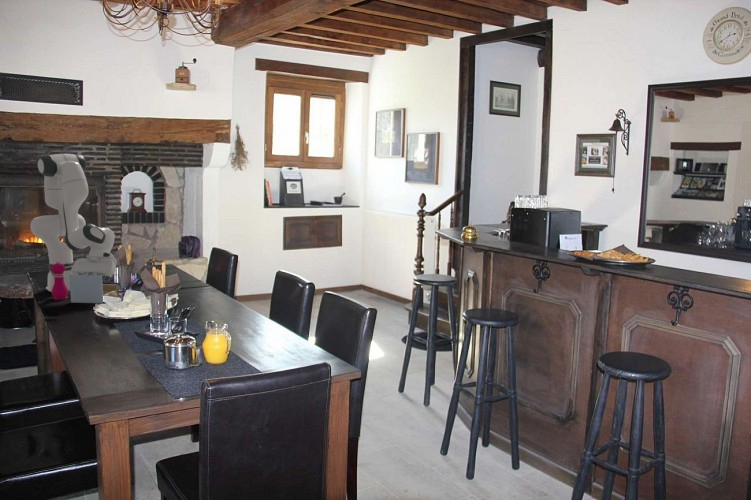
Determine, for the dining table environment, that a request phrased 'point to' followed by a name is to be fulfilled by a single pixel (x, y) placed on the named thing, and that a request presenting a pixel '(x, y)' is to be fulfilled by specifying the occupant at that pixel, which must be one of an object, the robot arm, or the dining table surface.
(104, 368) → the dining table surface
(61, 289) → the pepper mill
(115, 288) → the tray
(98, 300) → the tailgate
